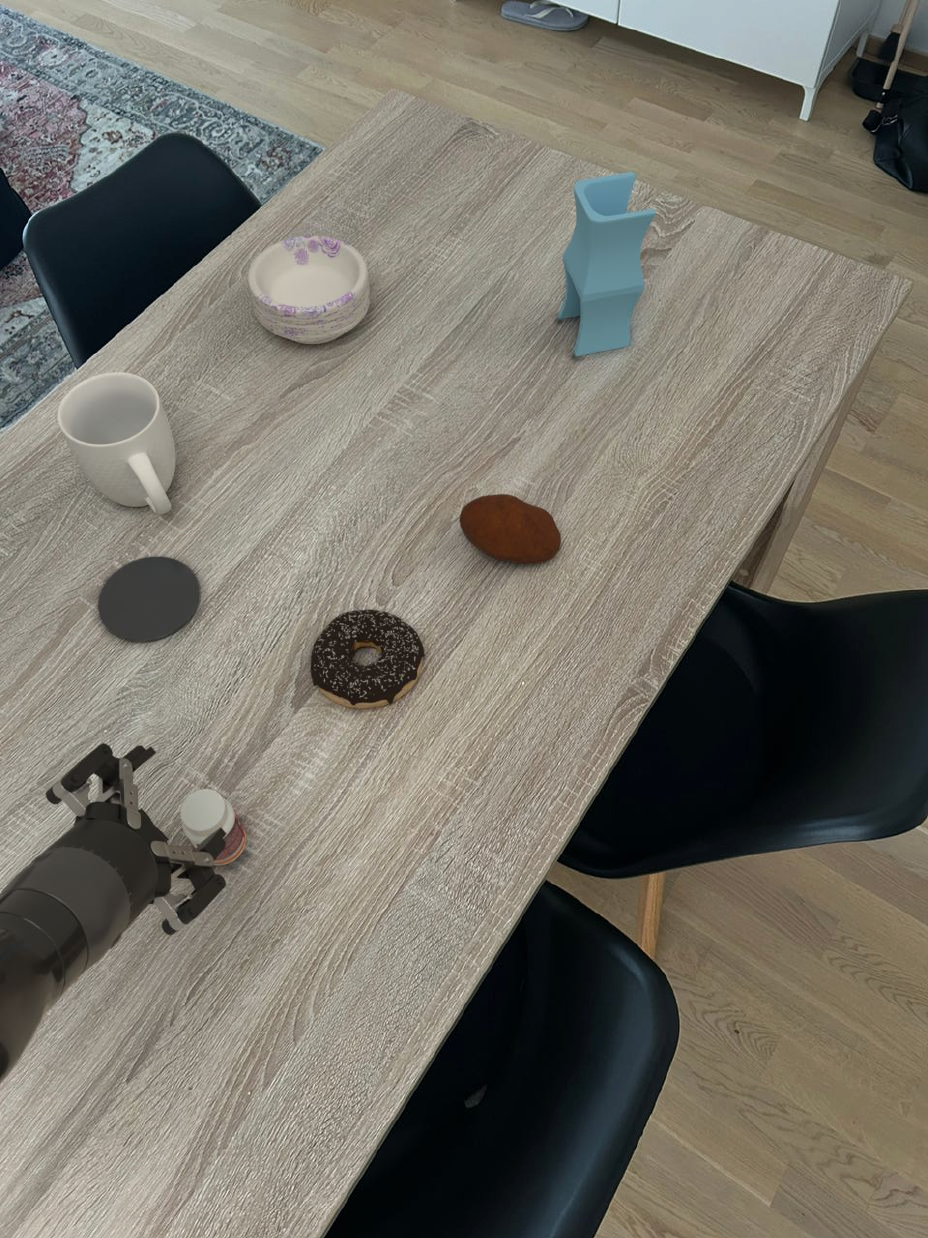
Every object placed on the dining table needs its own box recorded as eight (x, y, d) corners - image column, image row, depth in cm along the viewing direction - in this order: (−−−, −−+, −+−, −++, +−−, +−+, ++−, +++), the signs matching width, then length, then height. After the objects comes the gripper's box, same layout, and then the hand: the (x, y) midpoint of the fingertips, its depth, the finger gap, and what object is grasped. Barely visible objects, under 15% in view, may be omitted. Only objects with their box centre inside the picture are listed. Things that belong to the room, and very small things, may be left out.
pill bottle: (256, 832, 100) (240, 798, 93) (228, 875, 98) (209, 844, 91) (215, 810, 101) (196, 775, 94) (186, 852, 99) (164, 820, 92)
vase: (633, 345, 135) (657, 212, 118) (575, 356, 134) (590, 223, 117) (614, 305, 139) (634, 170, 122) (557, 315, 138) (570, 181, 121)
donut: (314, 625, 112) (309, 605, 109) (423, 619, 113) (422, 599, 109) (312, 716, 106) (307, 698, 103) (427, 710, 107) (426, 692, 103)
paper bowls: (352, 269, 143) (346, 220, 136) (387, 343, 135) (383, 294, 128) (244, 297, 140) (233, 247, 133) (274, 373, 132) (263, 325, 126)
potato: (553, 585, 115) (558, 542, 108) (451, 568, 116) (450, 525, 109) (563, 531, 119) (569, 486, 112) (465, 515, 120) (464, 470, 113)
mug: (219, 516, 120) (193, 439, 109) (132, 560, 117) (96, 486, 106) (162, 436, 127) (133, 356, 116) (78, 476, 124) (39, 398, 113)
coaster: (88, 640, 112) (86, 637, 111) (112, 556, 117) (111, 554, 117) (189, 645, 111) (188, 642, 111) (209, 561, 117) (208, 558, 116)
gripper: (-35, 848, 68) (92, 753, 84) (108, 1008, 70) (207, 885, 85) (38, 788, 66) (155, 701, 81) (185, 954, 67) (272, 838, 83)
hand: (181, 795), depth 83 cm, fingers open, 8 cm apart
